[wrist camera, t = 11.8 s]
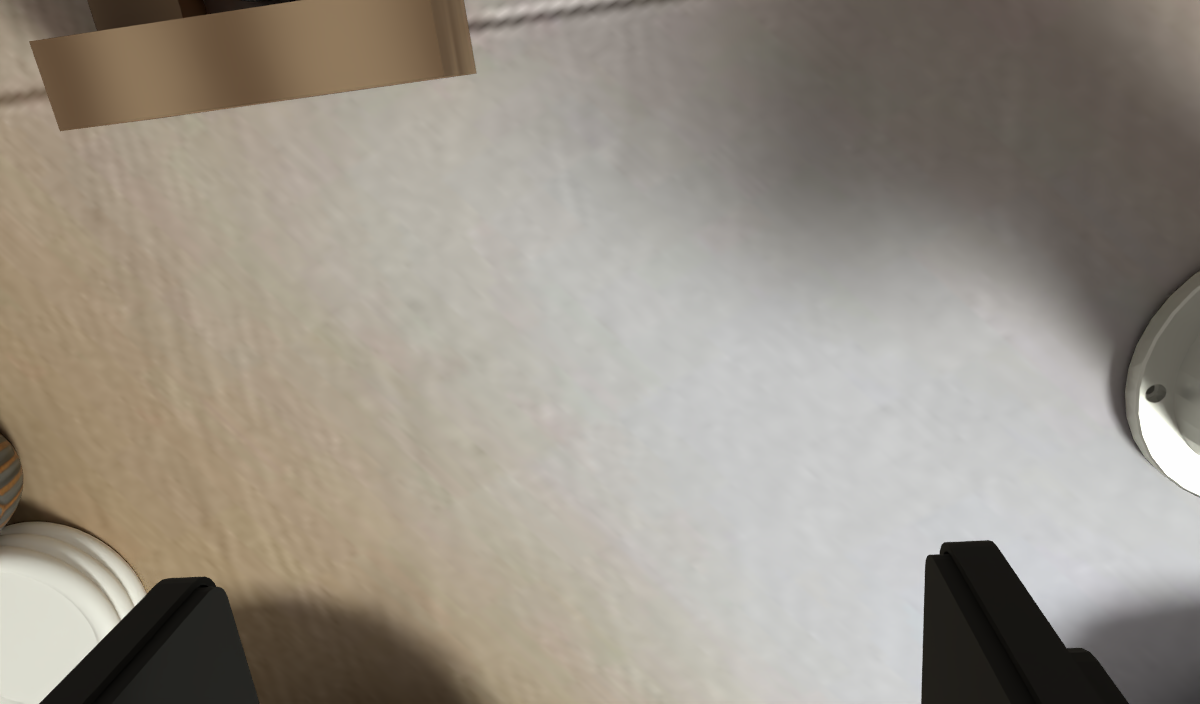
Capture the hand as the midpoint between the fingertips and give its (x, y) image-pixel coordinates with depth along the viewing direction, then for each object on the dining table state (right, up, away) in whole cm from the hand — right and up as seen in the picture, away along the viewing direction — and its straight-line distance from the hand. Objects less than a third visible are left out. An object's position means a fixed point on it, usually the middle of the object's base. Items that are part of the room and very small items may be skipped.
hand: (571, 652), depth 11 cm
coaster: (-28, -9, +33) cm, 45 cm away
